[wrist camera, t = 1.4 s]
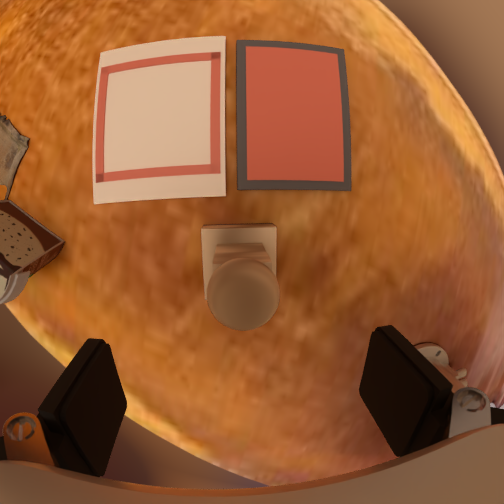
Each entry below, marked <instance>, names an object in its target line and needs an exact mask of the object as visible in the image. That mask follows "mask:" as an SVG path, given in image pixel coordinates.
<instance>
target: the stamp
mask: <svg viewBox="0 0 504 504" xmlns="http://www.w3.org/2000/svg"><path fill="white" fill-rule="evenodd" d="M276 238H277V227H276V226H275V225H274V224H272V223H257V224H217V225H203V227H202V229H201V239H202V258H203V275H204V291H205V300H207V302H208V305H209V308H210V310H211V312H212V314H213V315H214V316H215V318H216V319H217V320H218V321H219V322H220V323H222V324H223V325H225V326H227V327H229V328H231V329H235V330H241V331H246V330H252V329H255V328H258V327H260V326H262V325H263V324H265V323H266V322H268V321H269V320H270V319H271V318H272V316H273V315H274V313H275V311H276V310H277V307H278V304H279V300H280V289H279V284H278V281H277V279H276Z"/></svg>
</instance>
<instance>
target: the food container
mask: <svg viewBox="0 0 504 504" xmlns="http://www.w3.org/2000/svg"><path fill="white" fill-rule="evenodd" d="M64 243H65V241H64V240H63V239H61V238H60V237H58V236H57V235H56V234H54V233H53V232H51V231H50V230H49V229H47V228H46V227H45V226H43V225H42V224H41V223H39V222H38V221H37V220H35V219H34V218H33V217H31V216H30V215H29V214H27V213H26V212H25V211H23V210H22V209H21V208H20V207H18V206H17V205H16V204H15V203H13V202H12V201H11V200H0V304H3V303H7V302H9V301H12V300H14V299H15V298H16V297H17V296H18V295H19V294H20V293H21V292H22V290H23V289H24V287H25V285H26V283H27V281H28V278H29V277H31V276H32V275H33V274H35V273H36V272H37V271H38V270H40V269H41V268H43V267H44V266H45V265H47V264H48V263H49V262H51V261H52V260H53V259H54V258H56V256H57V255H58V254H59V253H60V251H61V249H62V248H63V245H64Z"/></svg>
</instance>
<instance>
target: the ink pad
mask: <svg viewBox="0 0 504 504" xmlns="http://www.w3.org/2000/svg"><path fill="white" fill-rule="evenodd" d="M236 90H237V190H266V189H288V190H338V191H351V134H350V113H349V97H348V85H347V73H346V64H345V55H344V49H339V48H333V47H327V46H320V45H312V44H303V43H293V42H281V41H262V40H237V47H236Z"/></svg>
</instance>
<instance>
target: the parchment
mask: <svg viewBox="0 0 504 504" xmlns="http://www.w3.org/2000/svg"><path fill="white" fill-rule="evenodd" d="M5 119H6V116H5V115H4V116H0V185H6V187H7V193H6V196H5V200H7V198H8V195H9V191H10V188H11V185H12V181H13V178H14V174H15V172H16V169H17V166H18V164H19V162H20V160H21V158H22V156H23V155H24V153H25V151H26V150H27V148H28V143H27V141H28V140H29V138H27V137H25V136H22V135H20V134H19V133H18V132H17V131H16V129H15V128H13V126H12V125H11V123H10V121H9V119H8V120H5Z"/></svg>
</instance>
